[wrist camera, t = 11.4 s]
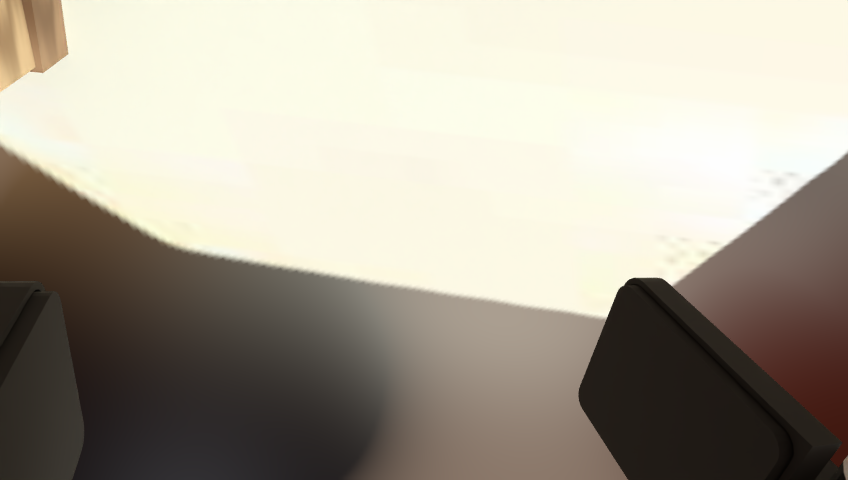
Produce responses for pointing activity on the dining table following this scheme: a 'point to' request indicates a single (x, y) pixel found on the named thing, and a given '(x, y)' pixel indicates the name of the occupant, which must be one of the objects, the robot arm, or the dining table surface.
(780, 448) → the robot arm
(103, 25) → the dining table surface
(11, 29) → the oak middle block
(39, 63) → the brown wooden block
